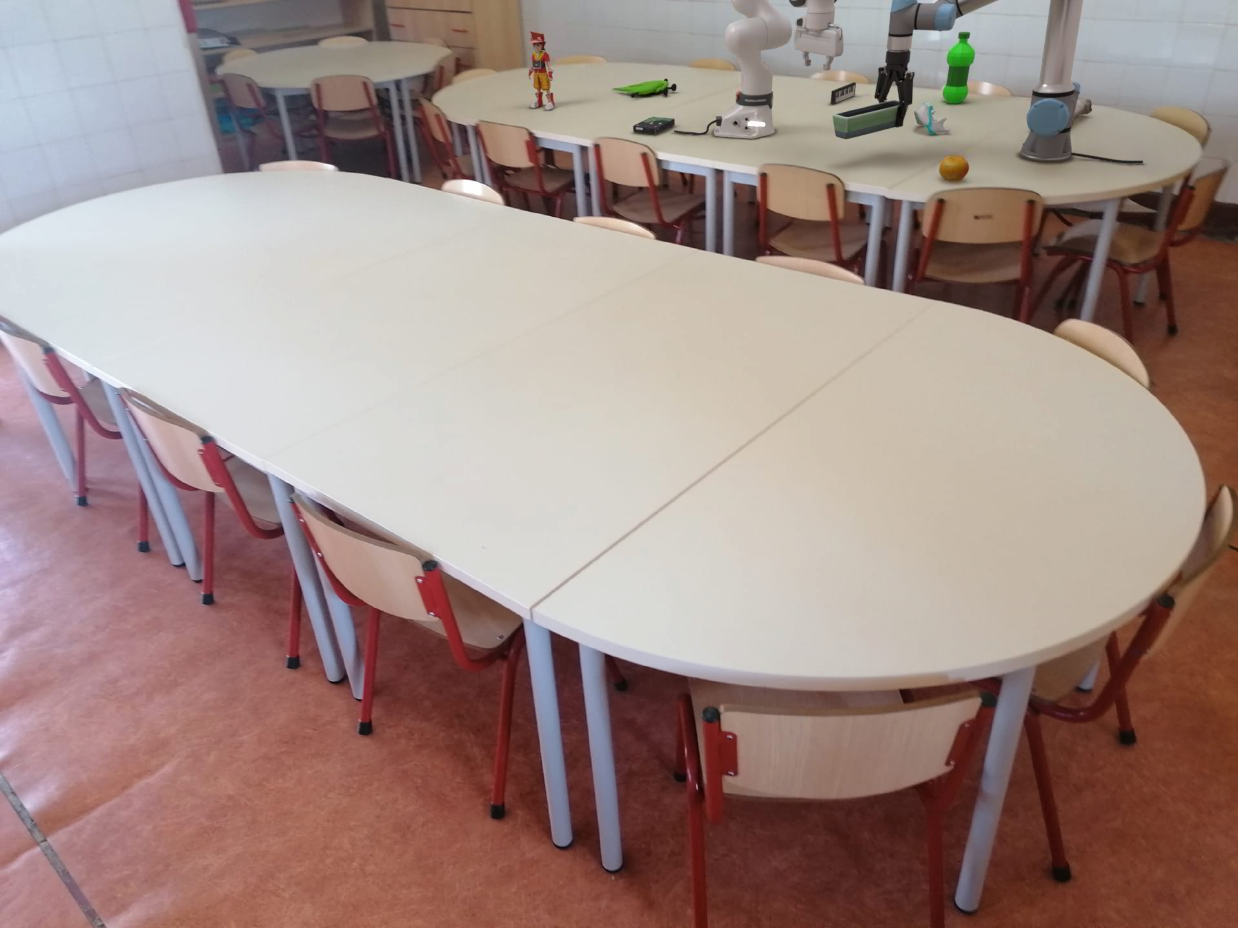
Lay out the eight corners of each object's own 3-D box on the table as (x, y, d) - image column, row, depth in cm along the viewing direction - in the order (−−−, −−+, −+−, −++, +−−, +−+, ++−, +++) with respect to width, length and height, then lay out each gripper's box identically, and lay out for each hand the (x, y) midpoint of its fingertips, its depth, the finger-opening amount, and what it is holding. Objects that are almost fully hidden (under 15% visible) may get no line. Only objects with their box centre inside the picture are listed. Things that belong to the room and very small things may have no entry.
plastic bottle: (973, 101, 354) (984, 32, 339) (955, 106, 349) (966, 36, 335) (952, 97, 361) (962, 29, 346) (934, 102, 356) (944, 33, 342)
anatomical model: (908, 101, 325) (935, 94, 324) (909, 130, 331) (936, 123, 330) (923, 112, 313) (951, 104, 312) (924, 141, 319) (952, 134, 318)
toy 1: (525, 109, 381) (517, 32, 364) (534, 104, 388) (527, 28, 371) (550, 110, 377) (543, 32, 360) (559, 105, 384) (553, 28, 367)
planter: (845, 141, 287) (847, 118, 283) (829, 137, 292) (831, 114, 288) (907, 126, 298) (910, 103, 294) (891, 121, 303) (894, 99, 299)
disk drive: (656, 136, 337) (675, 125, 347) (656, 128, 335) (675, 118, 345) (632, 133, 342) (652, 123, 352) (632, 125, 340) (651, 115, 350)
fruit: (933, 171, 274) (950, 147, 271) (934, 173, 282) (951, 150, 279) (956, 186, 273) (974, 163, 270) (956, 188, 281) (973, 165, 278)
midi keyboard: (833, 104, 361) (834, 91, 358) (830, 104, 362) (831, 91, 359) (855, 95, 372) (856, 82, 369) (852, 95, 372) (853, 82, 370)
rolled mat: (1059, 103, 333) (1083, 86, 324) (1072, 124, 333) (1097, 107, 325) (1027, 125, 315) (1052, 107, 307) (1041, 147, 316) (1067, 130, 308)
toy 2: (686, 85, 398) (631, 84, 414) (685, 72, 395) (629, 72, 411) (651, 104, 381) (596, 103, 397) (650, 92, 378) (594, 91, 394)
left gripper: (850, 24, 280) (846, 71, 288) (806, 17, 294) (803, 62, 302) (834, 26, 277) (831, 74, 285) (791, 19, 292) (789, 65, 300)
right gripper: (931, 52, 279) (921, 128, 292) (884, 44, 294) (876, 117, 307) (913, 56, 276) (904, 132, 289) (867, 47, 291) (860, 121, 304)
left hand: (816, 68), depth 294 cm, fingers open, 8 cm apart
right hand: (890, 124), depth 298 cm, fingers closed on planter, 7 cm apart
